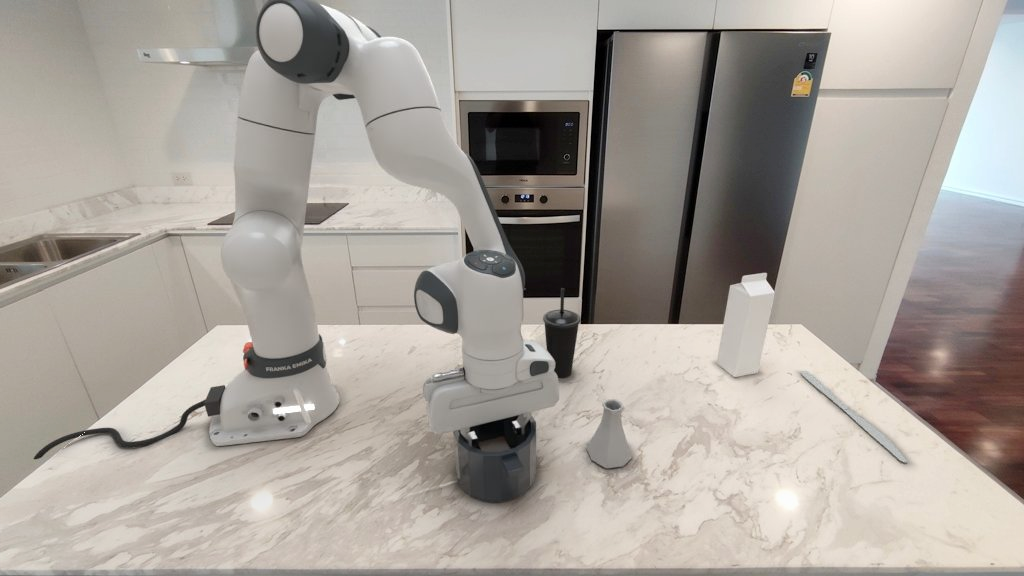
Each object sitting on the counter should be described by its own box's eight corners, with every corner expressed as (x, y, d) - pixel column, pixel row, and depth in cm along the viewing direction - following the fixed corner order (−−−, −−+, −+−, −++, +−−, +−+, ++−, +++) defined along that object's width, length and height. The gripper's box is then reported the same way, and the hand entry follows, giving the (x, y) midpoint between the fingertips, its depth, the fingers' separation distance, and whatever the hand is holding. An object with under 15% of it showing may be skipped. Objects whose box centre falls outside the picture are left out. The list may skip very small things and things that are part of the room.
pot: (474, 527, 67) (472, 478, 64) (445, 445, 83) (441, 402, 80) (556, 501, 72) (557, 454, 68) (513, 428, 87) (512, 386, 84)
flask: (605, 475, 76) (609, 424, 72) (578, 447, 82) (581, 399, 78) (640, 460, 79) (646, 410, 76) (612, 434, 85) (616, 387, 81)
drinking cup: (576, 386, 99) (580, 297, 92) (539, 382, 101) (540, 295, 93) (579, 366, 106) (583, 283, 98) (544, 363, 108) (546, 280, 100)
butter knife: (812, 370, 103) (798, 370, 102) (916, 462, 78) (898, 462, 78) (811, 372, 103) (797, 372, 103) (914, 464, 78) (897, 464, 78)
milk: (757, 373, 103) (779, 278, 94) (734, 377, 102) (754, 281, 93) (738, 359, 108) (757, 267, 100) (715, 363, 107) (732, 270, 98)
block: (486, 483, 74) (485, 461, 73) (478, 464, 78) (477, 442, 77) (513, 475, 76) (512, 453, 74) (503, 457, 80) (503, 435, 78)
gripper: (426, 389, 63) (433, 470, 69) (565, 359, 70) (562, 435, 75) (417, 365, 69) (425, 442, 74) (547, 340, 75) (545, 412, 81)
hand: (495, 438), depth 75 cm, fingers open, 6 cm apart
